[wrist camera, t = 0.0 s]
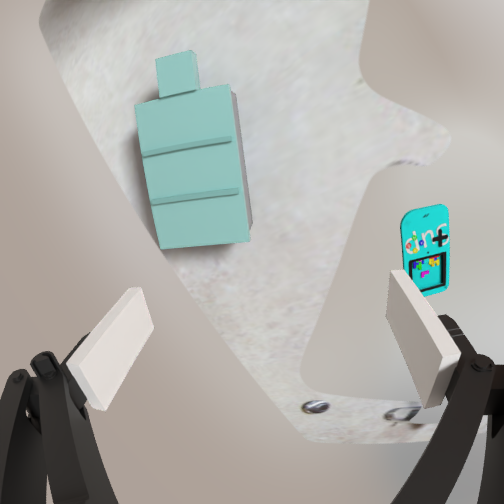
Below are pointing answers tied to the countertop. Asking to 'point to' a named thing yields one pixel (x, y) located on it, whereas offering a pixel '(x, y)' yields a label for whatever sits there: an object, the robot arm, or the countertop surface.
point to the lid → (192, 159)
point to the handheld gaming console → (426, 247)
